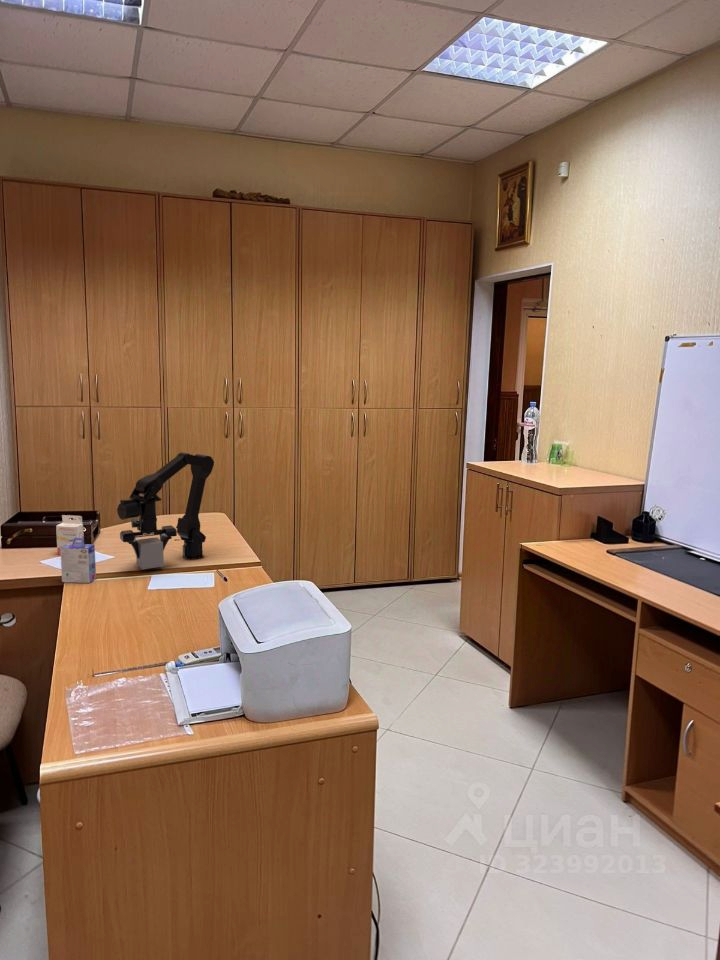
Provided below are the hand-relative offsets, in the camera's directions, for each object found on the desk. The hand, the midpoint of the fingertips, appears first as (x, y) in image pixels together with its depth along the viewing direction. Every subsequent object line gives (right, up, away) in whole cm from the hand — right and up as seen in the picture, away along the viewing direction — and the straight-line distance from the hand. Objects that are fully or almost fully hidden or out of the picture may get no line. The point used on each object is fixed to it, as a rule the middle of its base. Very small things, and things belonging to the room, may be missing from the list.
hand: (149, 556), depth 244 cm
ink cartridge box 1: (-35, -1, +15) cm, 38 cm away
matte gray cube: (0, -3, 0) cm, 3 cm away
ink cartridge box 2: (-20, -7, -12) cm, 25 cm away
